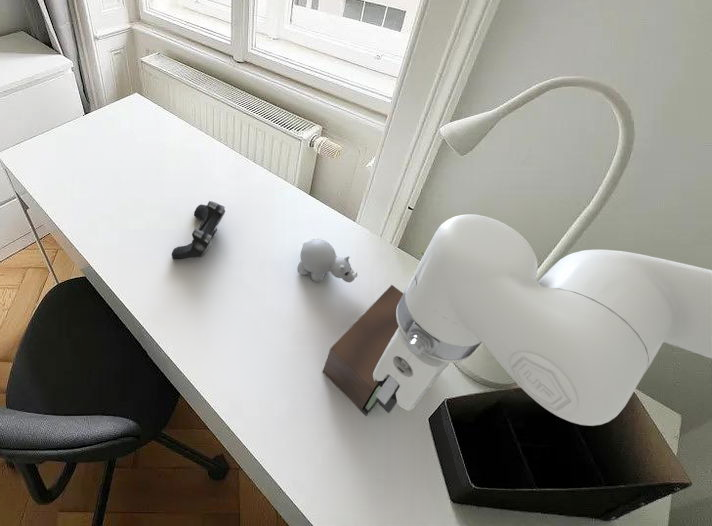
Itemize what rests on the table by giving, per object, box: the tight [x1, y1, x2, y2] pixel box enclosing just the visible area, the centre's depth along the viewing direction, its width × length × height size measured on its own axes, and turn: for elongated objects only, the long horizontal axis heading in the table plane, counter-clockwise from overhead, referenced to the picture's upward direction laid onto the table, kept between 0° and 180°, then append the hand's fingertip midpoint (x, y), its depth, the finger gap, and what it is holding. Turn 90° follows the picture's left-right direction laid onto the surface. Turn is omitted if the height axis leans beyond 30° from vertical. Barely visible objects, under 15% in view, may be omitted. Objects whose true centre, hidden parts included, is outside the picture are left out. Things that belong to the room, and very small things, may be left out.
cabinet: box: [322, 284, 404, 417], centre depth 71 cm, size 9×18×9 cm, turn 130°
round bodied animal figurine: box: [296, 238, 358, 283], centre depth 84 cm, size 7×12×8 cm, turn 54°
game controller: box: [171, 200, 226, 261], centre depth 93 cm, size 16×7×10 cm, turn 159°
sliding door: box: [365, 386, 398, 414], centre depth 65 cm, size 3×8×8 cm, turn 130°
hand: (391, 389), depth 52 cm, fingers closed
